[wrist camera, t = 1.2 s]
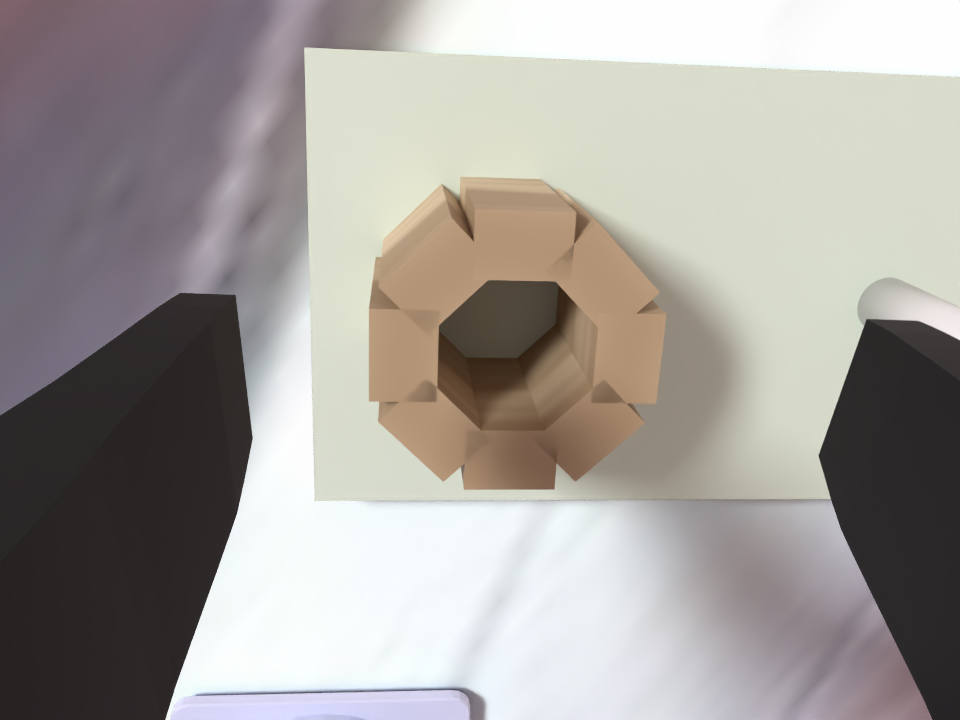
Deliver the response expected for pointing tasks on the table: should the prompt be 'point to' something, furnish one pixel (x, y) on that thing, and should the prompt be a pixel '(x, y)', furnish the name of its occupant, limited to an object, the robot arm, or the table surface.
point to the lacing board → (642, 246)
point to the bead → (534, 374)
